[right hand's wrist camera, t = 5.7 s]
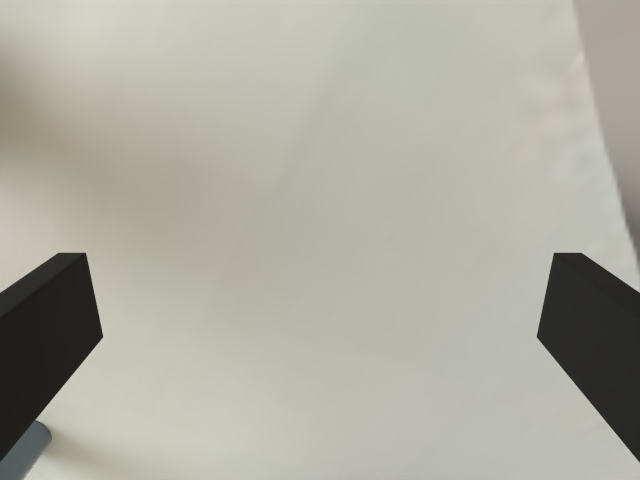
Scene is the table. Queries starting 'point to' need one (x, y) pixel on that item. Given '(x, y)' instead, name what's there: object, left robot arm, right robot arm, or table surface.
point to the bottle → (25, 453)
